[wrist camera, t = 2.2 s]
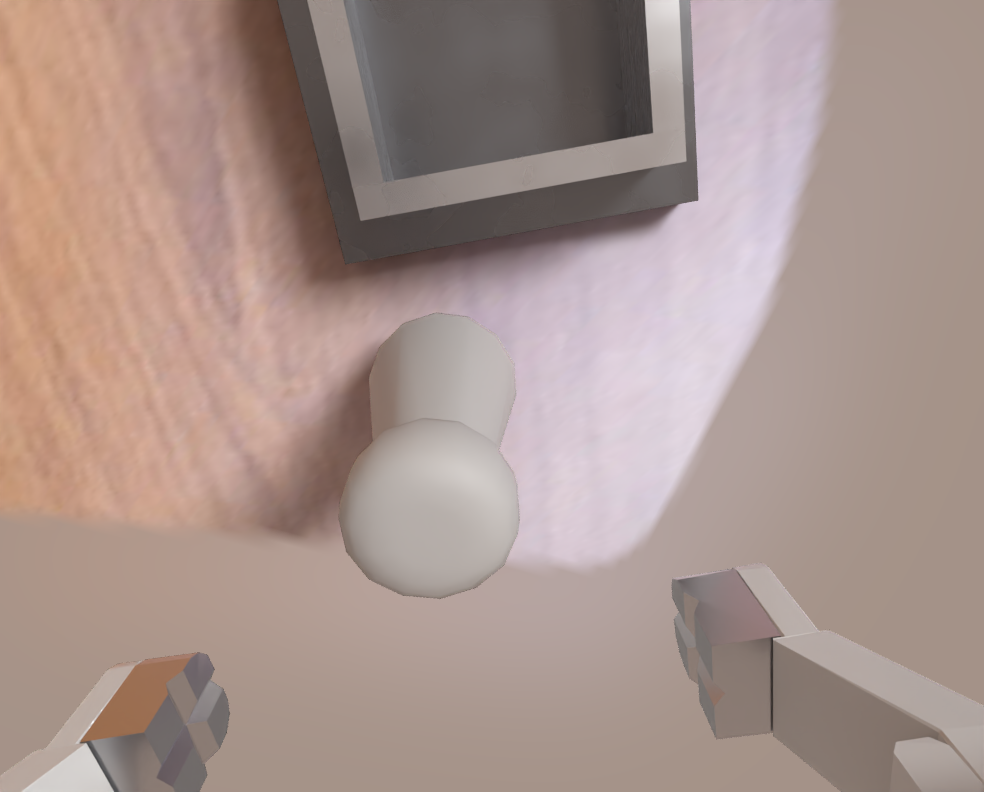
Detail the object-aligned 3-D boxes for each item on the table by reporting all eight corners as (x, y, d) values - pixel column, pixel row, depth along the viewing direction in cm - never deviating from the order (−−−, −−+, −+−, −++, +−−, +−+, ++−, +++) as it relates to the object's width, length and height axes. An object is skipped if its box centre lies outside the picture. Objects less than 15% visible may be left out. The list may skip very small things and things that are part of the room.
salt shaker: (483, 445, 26) (500, 669, 14) (363, 406, 25) (268, 610, 13) (531, 328, 24) (598, 468, 12) (403, 281, 23) (336, 382, 11)
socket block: (352, 259, 23) (327, 275, 19) (245, -165, 18) (179, -271, 14) (683, 199, 23) (734, 202, 18) (661, -245, 18) (722, -379, 14)
